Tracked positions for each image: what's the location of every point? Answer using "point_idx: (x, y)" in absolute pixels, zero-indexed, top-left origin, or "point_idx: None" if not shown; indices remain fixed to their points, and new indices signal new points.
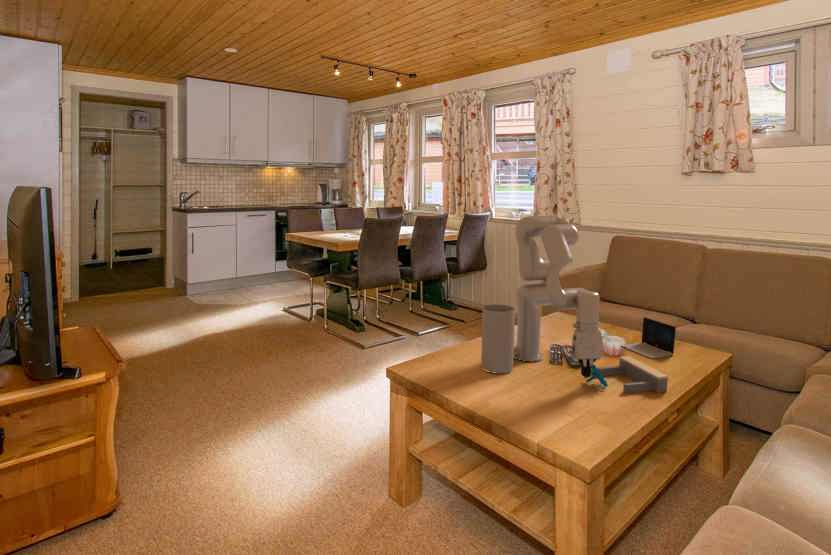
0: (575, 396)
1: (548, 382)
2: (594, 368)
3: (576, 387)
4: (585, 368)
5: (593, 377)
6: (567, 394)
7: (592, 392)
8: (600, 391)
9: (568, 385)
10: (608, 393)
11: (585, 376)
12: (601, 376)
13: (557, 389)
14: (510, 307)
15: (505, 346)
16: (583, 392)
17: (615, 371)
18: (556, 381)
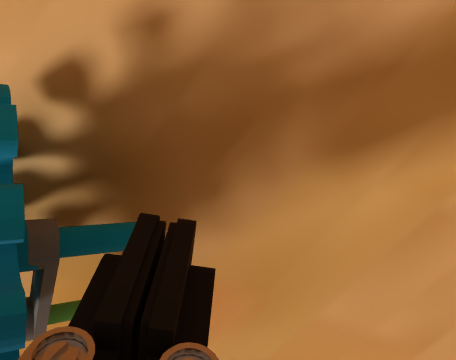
0: (400, 69)
1: (374, 355)
2: (21, 289)
3: (242, 225)
4: (178, 321)
5: (65, 235)
6: (430, 135)
7: (178, 90)
8: (89, 82)
9: (276, 274)
10: (36, 10)
11: (194, 236)
12: (4, 132)
13: (419, 245)
14: None
15: None
16: (259, 120)
17: None
18: (307, 350)
